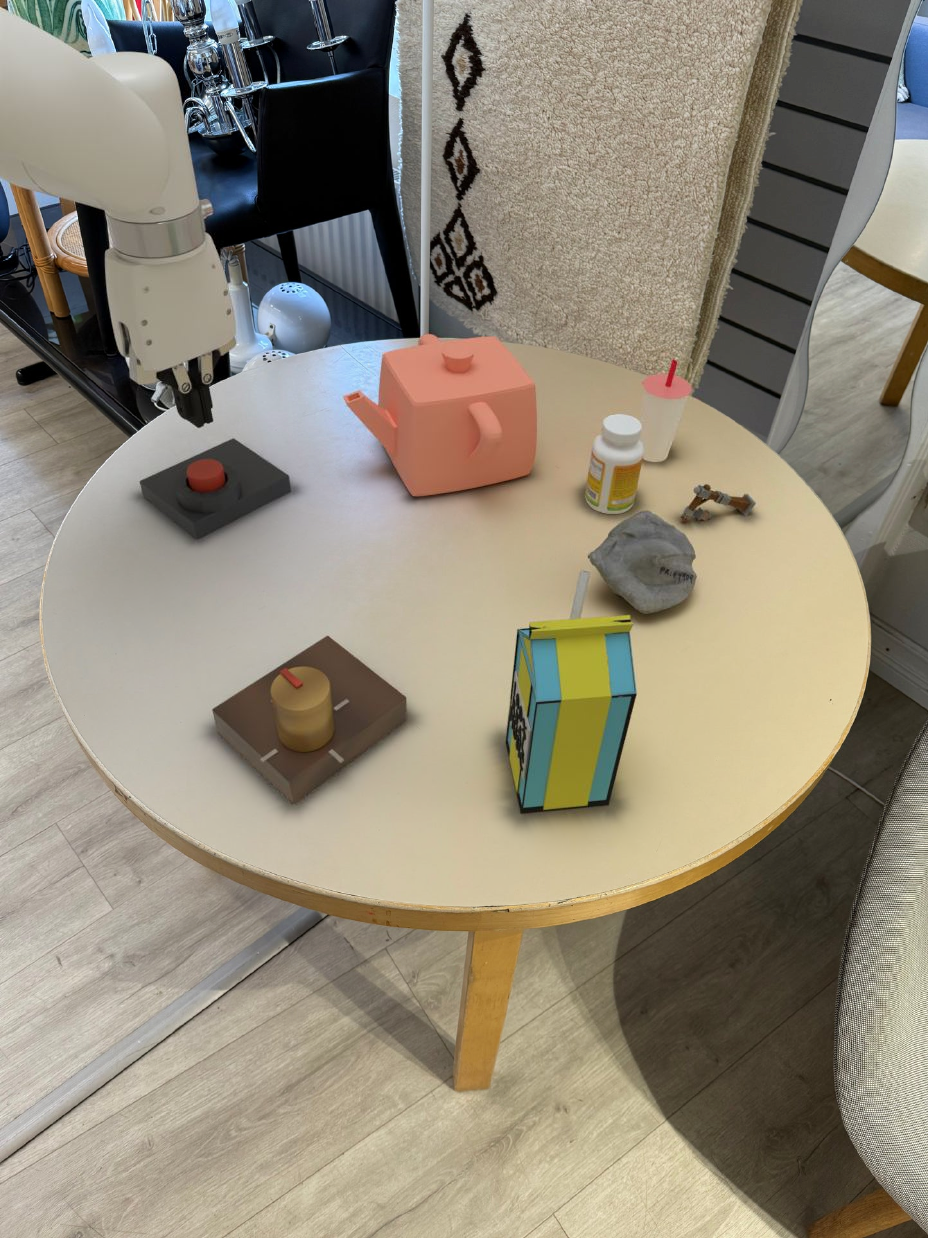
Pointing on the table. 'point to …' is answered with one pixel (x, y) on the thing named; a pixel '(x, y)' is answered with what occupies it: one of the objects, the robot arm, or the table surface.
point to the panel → (358, 714)
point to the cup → (662, 412)
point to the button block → (209, 511)
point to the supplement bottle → (615, 465)
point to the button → (206, 475)
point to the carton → (570, 708)
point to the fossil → (647, 562)
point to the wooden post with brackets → (704, 492)
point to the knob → (303, 708)
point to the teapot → (453, 414)
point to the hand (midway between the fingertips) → (197, 419)
